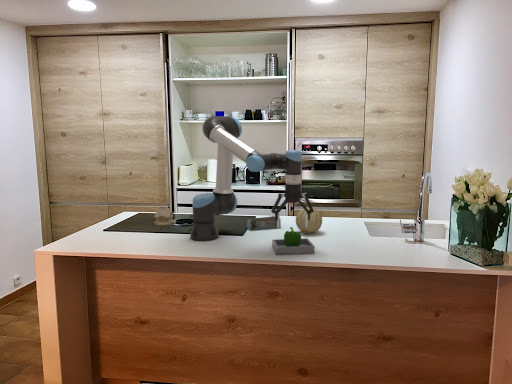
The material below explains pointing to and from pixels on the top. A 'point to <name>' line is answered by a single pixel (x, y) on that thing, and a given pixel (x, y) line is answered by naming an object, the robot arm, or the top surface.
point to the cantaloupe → (309, 221)
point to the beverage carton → (262, 223)
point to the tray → (293, 247)
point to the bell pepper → (292, 238)
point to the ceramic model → (164, 217)
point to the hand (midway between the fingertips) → (292, 227)
